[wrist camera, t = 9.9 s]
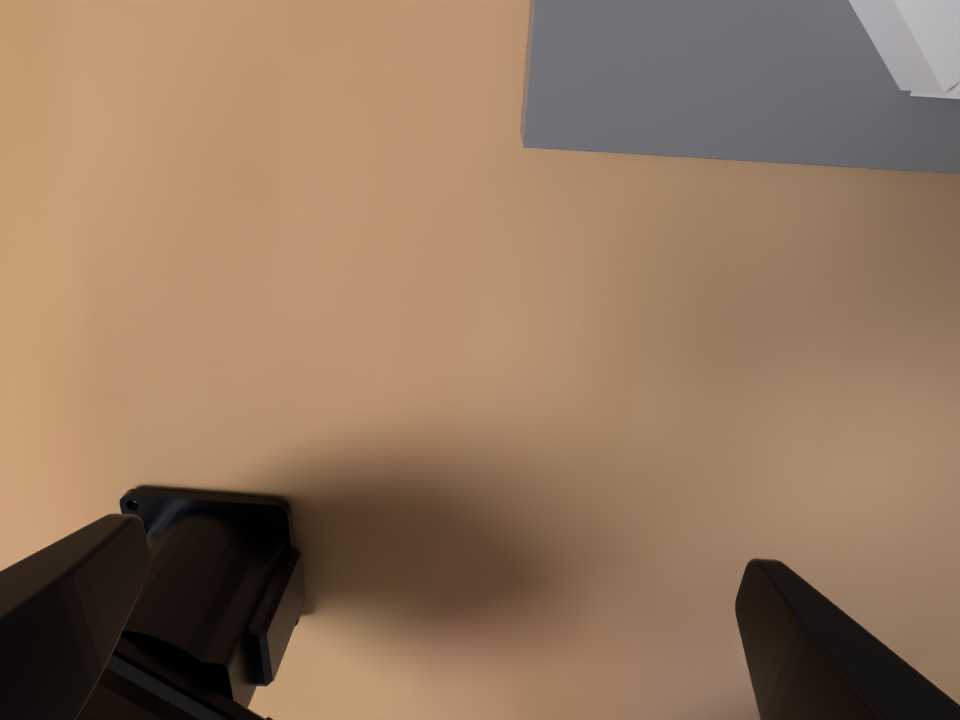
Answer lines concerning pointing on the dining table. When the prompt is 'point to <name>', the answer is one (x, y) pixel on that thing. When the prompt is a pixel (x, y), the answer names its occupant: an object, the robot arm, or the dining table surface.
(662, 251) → the dining table surface
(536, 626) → the dining table surface
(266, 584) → the robot arm
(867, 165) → the octagon ring plate
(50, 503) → the dining table surface
